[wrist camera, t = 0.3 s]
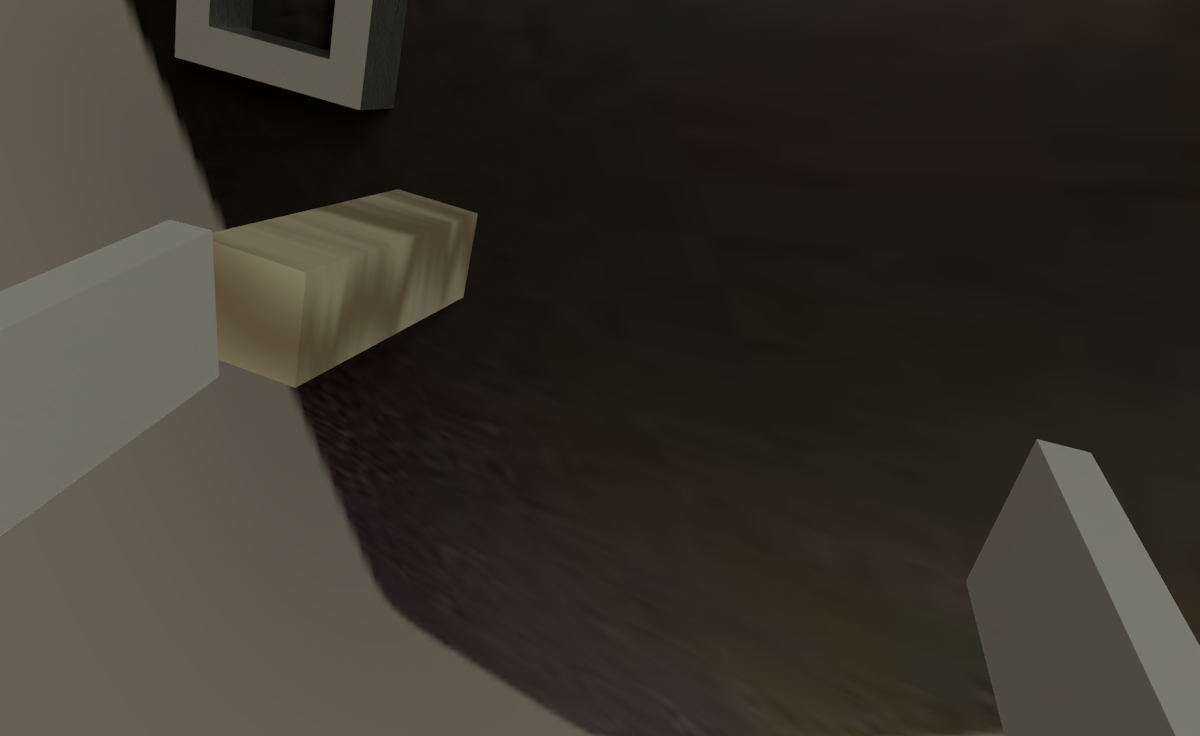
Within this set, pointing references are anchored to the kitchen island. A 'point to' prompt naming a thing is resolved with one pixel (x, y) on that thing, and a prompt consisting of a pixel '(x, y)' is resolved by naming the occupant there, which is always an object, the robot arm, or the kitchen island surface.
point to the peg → (335, 281)
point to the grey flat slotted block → (301, 49)
